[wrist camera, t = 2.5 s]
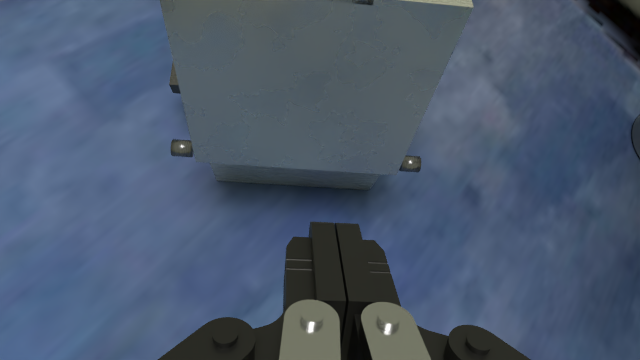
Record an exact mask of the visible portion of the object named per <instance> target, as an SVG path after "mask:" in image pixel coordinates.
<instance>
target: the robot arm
mask: <svg viewBox="0 0 640 360" xmlns="http://www.w3.org/2000/svg"><path fill="white" fill-rule="evenodd" d="M632 140H633V144H634V147H635V150H636V152H637V154H638V156H639V157H640V115H639V116H638V117H637V119H636V120H635V122H634V125H633V129H632ZM283 297H284V299H283V314H282V315H281V316H280V318H279V319H277V320H276V321H275V322H273V323H271V324H269V325H266V326H263V327H259V328H255V329H252V327H251V326H250V325H249V324H247V323H246V322H244V321H243V320H240V319H237V318H230V317H225V318H218V319H215V320H212V321H210V322H208V323H206V324H205V325H203V326H202V327H201V328H199V329H198V330H197V331H195V332H194V333H193V334H191V335H190V336H189V337H187V338H186V339H185V340H183V341H182V342H181V343H179V344H178V345H177V346H175V347H174V348H173V349H171V350H170V351H169V352H167V353H166V354H165V355H163V356H162V357H161V358H159V359H158V360H530V359H529V358H527V357H526V356H524V355H523V354H522V353H520V352H519V351H517V350H516V349H514V348H513V347H511V346H510V345H508V344H507V343H505V342H504V341H502V340H501V339H500V338H498V337H497V336H495V335H494V334H492V333H491V332H489V331H487V330H485V329H483V328H480V327H477V326H473V325H461V326H458V327H456V328H454V329H453V330H452V331H451V332H450V334H449V336H446V335H442V334H439V333H435V332H432V331H429V330H426V329H423V328H421V327H419V326H417V325H416V323H415V321H414V319H413V317H412V316H411V314H410V313H409V312H408V311H407V310H405V309H404V308H402V307H401V305H400V302H399V298H398V295H397V292H396V289H395V285H394V282H393V279H392V276H391V274H390V269H389V266H388V264H387V259H386V256H385V253H384V250H383V249H382V248H381V247H380V246H379V245H378V244H377V243H376V242H375V241H374V240H362V236H361V232H360V228H359V225H358V224H350V223H335V224H334V223H328V222H310V228H309V238H308V237H293V238H292V240H291V241H290V242H289V244H288V245H287V248H286V261H285V275H284V296H283Z"/></svg>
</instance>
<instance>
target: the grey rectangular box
mask: <svg viewBox="0 0 640 360" xmlns="http://www.w3.org/2000/svg"><path fill="white" fill-rule="evenodd" d="M169 85H170V87H171V89H172V92H173V93H180V89H179V84H178V80H177V75H176V71H175V67H174V62H173V64H172V71H171V77H170V84H169ZM180 94H181V93H180ZM193 153H194V152H193V147H192V143H191V141H190V140H176V139H173V140H172V143H171V155H172V156H181V157H193ZM210 165H211V168H212V170H213V173H214V175H215V178H216V180H217V181H229V182H245V183H261V184H277V185H293V186H309V187H325V188H341V189H357V190H369V189H370V188H371V187H372V185H373V184H374V183H375V181H376V180H377V179H378V177H379V176H380V175H381V174H370V173H355V172H340V171H324V170H309V169H294V168H279V167H263V166H248V165H233V164H218V163H210ZM420 168H421V158H420V156H405V158H404V160H403V162H402V164H401V166H400V169H399V170H400V171H406V172H419V171H420Z"/></svg>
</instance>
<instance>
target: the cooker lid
mask: <svg viewBox="0 0 640 360" xmlns="http://www.w3.org/2000/svg"><path fill="white" fill-rule="evenodd" d="M160 4H161V8H162V13H163V17H164V22H165V26H166V31H167V35H168V40H169V44H170V49H171V53H172V58H173V62H174V67H175V71H176V75H177V80H178V84H179V89H180V93H181V98H182V102H183V107H184V111H185V116H186V120H187V125H188V129H189V134H190V138H191V143H192V147H193V152H194V156H195V160H196V162H203V163H218V164H233V165H248V166H263V167H279V168H294V169H309V170H324V171H340V172H355V173H370V174H385V175H397V173H398V171H399V169H400V166H401V164H402V162H403V160H404V158H405V156H406V153H407V151H408V149H409V147H410V145H411V143H412V140H413V138H414V136H415V134H416V132H417V129H418V127H419V125H420V123H421V121H422V119H423V116H424V114H425V112H426V110H427V108H428V105H429V103H430V101H431V99H432V97H433V95H434V92H435V90H436V88H437V86H438V84H439V82H440V79H441V77H442V75H443V73H444V71H445V68H446V66H447V64H448V62H449V60H450V58H451V55H452V53H453V51H454V49H455V47H456V45H457V42H458V40H459V38H460V36H461V34H462V31H463V29H464V27H465V25H466V23H467V21H468V18H469V16H470V14H471V12H472V10H473V8H474V7H473V4H472V0H160Z"/></svg>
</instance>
